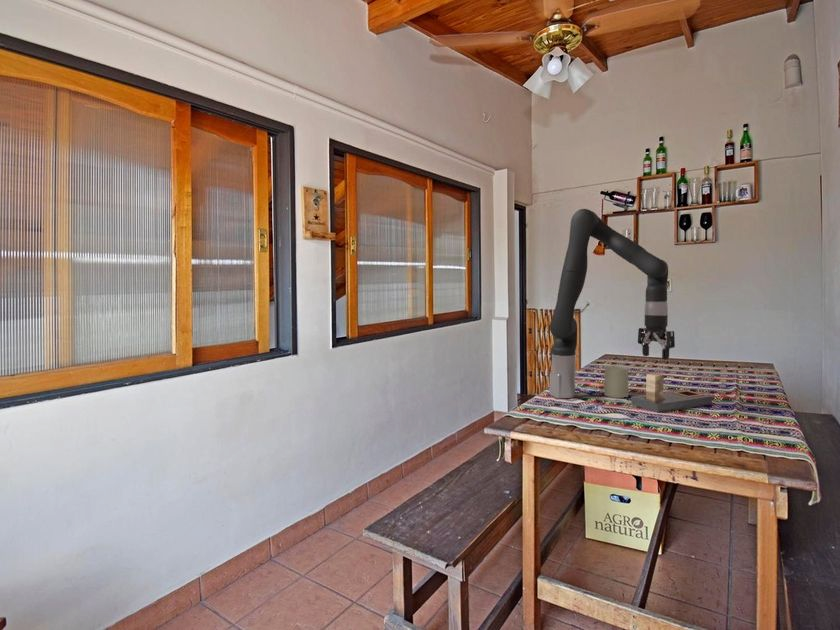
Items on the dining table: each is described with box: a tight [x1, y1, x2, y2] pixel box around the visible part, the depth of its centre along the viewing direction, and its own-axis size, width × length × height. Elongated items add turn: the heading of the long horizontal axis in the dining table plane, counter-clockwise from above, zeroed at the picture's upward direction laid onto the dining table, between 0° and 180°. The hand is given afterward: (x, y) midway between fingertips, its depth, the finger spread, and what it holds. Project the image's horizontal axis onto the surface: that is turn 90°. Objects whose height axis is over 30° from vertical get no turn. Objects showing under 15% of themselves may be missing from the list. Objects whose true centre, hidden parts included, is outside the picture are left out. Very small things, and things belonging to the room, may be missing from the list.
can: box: [603, 365, 629, 399], centre depth 188 cm, size 9×9×12 cm
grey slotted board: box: [630, 388, 713, 414], centre depth 174 cm, size 27×12×3 cm, turn 110°
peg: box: [645, 373, 665, 401], centre depth 171 cm, size 4×4×12 cm
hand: (655, 357), depth 170 cm, fingers open, 8 cm apart
